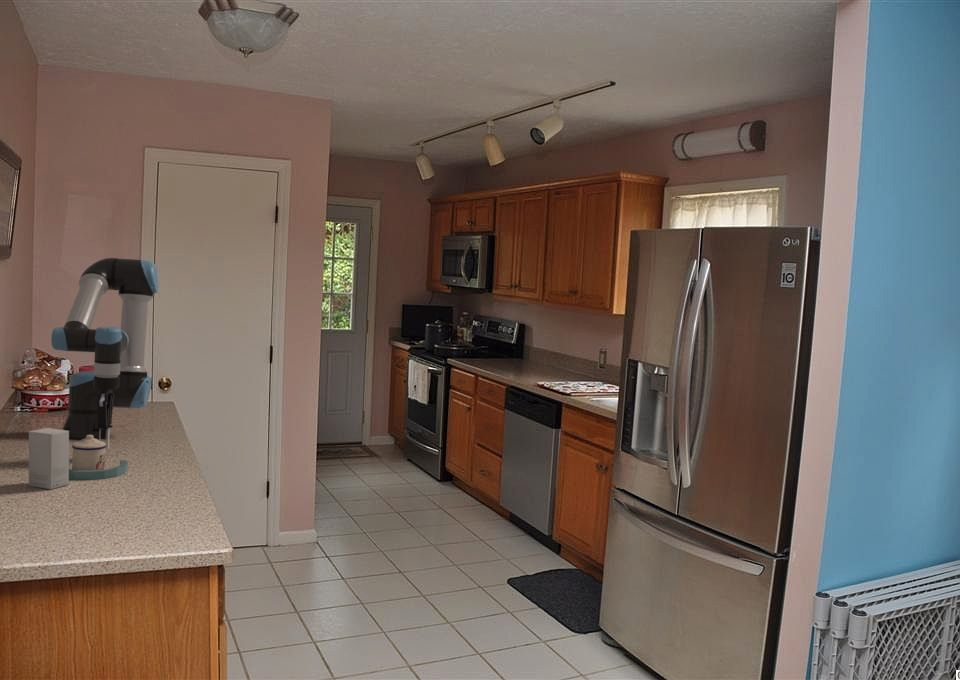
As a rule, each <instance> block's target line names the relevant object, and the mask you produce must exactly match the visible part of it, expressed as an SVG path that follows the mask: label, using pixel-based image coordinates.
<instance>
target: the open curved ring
mask: <svg viewBox="0 0 960 680" xmlns="http://www.w3.org/2000/svg"><path fill="white" fill-rule="evenodd" d="M70 466H71V458H69V468H70ZM128 467H129V462H128V461H127V460H126V459H121V460H119V465H118V466H117V465H116V466H115V467H109V468H104V469H103V470H72V468H70V469H69V480H78V481H79V480H80V481H81V480H82V481H84V480H85V481H91V480H92V481H94V480H105V479H110V478H117V477H120V476H122V475H125V474H126V473H127V472H128V471H129V470H128V469H129V468H128Z"/></svg>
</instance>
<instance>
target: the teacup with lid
mask: <svg viewBox="0 0 960 680" xmlns="http://www.w3.org/2000/svg"><path fill="white" fill-rule="evenodd" d="M93 437H94V436H93V435H87V436H86V438H85V439H80V440H79V441H75V442H73V444H72V445H71V448H72V457H71V459H72V462H71V463H72V464H71V469H72V470H103V469H105V464H106V462H105V461H106V460H105V459H106V449H105V447H106V444H105V443H104V442H102V441H99V439H98V438H93Z"/></svg>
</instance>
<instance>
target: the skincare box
mask: <svg viewBox="0 0 960 680" xmlns="http://www.w3.org/2000/svg"><path fill="white" fill-rule="evenodd" d="M69 445H70V438H69V431H67V430H62V429H58V428H57V429H56V428H50V427H45V428H40V429H35V430H34V429H33V430H30V431H28V486H29V487H34V488H40V489H45V490H55V489H59V488H62V487H66V486H69V480H70V479H69V468H70V467H69V459H70V458H69V455H70V454H69V453H70V450H69V449H70V446H69Z"/></svg>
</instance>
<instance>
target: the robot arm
mask: <svg viewBox="0 0 960 680" xmlns="http://www.w3.org/2000/svg"><path fill="white" fill-rule="evenodd" d="M78 285H79V289H78V291H77V293H76V296H75V298H74V302H73V303H72V306H71V309H70V311H69V313H68V316H67V318H66V321H65V323H64V326H58V327H54V329H53V330H52V331H51V339H50V342H51V347H52V348H53V349H54V350H56V351H63V352H81V353H82V352H83V353H94V364H92V366H91V367H92V368H94V369H93V370H86V371H85V370H84V371H79V372H75V373H73V374H72V375H70V377H69V386H68V412H67V417H66V419H65V422H64V424H63V427H62V429H61V430H67V431H69V439H74V440H82V439H85V438H86V436H87V435H93V436H94V437H93V438H95V439H98V440H99V441H102V442H104V443H105V444H106V447H105V450H109V448H110V432H111V431H110V430H111V429H112V428H113V425H112V421H113V420H112V419H113V411H114V408H122V409H124V408H125V409H143V407H145V406H146V405H147V403H148V401H149V397H150V394H151V389H152V381H153V379H152V377H151V376H149V375H148V370H147V369H146V368H145V367H144V365H145V364H144V362H145V351H146V337H147V321H148V308H149V302H150V301H151V300H153V298H154V294H157V293H158V291H159V274H158V269H157V266H156V264H155V263H154V262H153V261H150V260H143V259H131V258H129V259H128V258H116V257H108V258H107V257H106V258H103V259H99V260H98V261H95V262H94V263H92V264H91V265H89V266H88V267H87V268H86V269H85V270H84V271H83V272H82V274H81V275H80V278H79V280H78ZM111 290H113V291H118V294H117V295H118V296H119V298H120V299H121V300H122V303H121V318H120V319H121V321H120V328H119V327H116V326H98V327H96V329H95V328H91V326H92V324H93V322H94V319H95V316H96V314H97V310H98V307H99V305H100V303H101V300H102V297H103V296H104V295H105V294H106V293H107V292H108V291H111ZM110 428H111V429H110Z"/></svg>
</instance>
